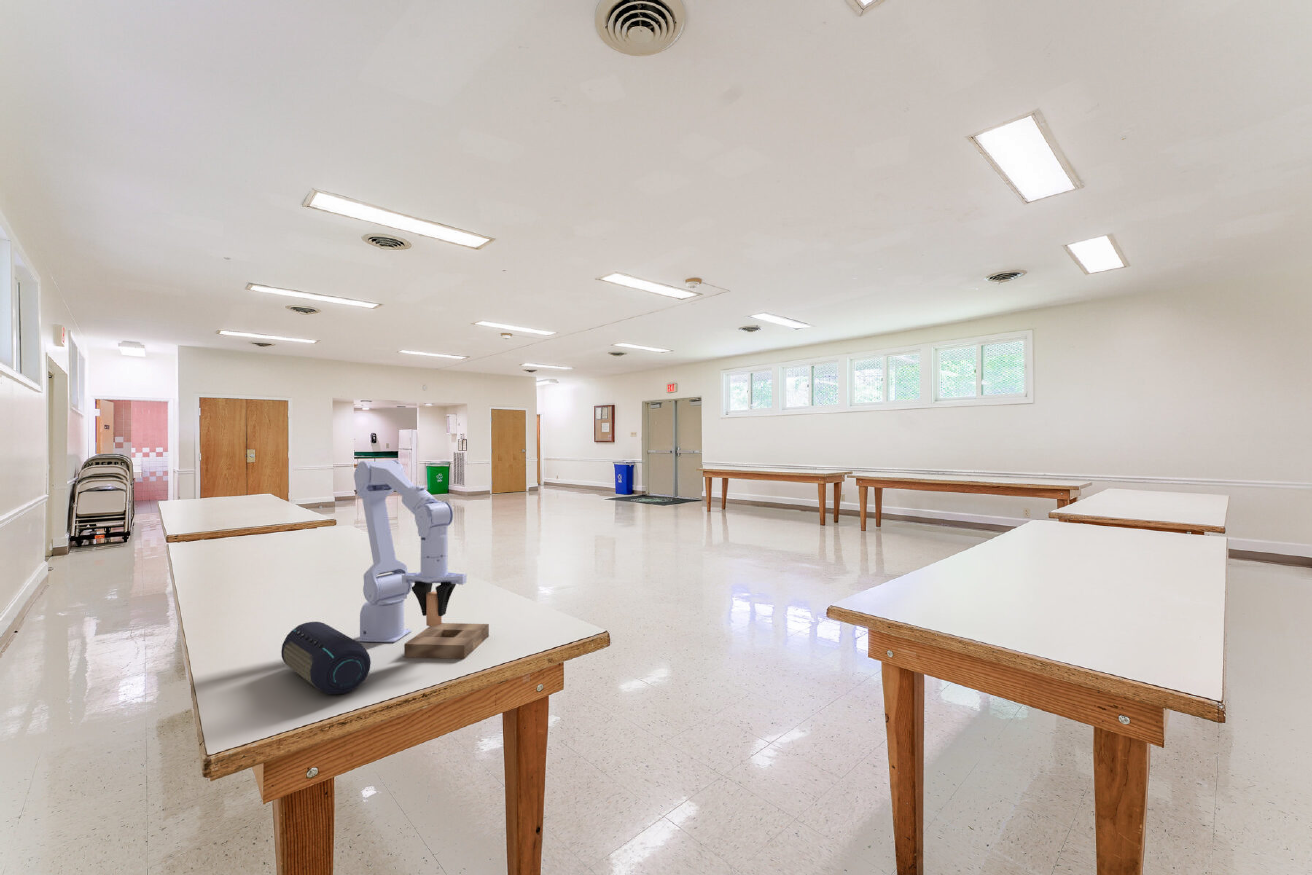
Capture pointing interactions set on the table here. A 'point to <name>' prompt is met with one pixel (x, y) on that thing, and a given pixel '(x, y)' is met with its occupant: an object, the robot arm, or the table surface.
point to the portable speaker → (326, 657)
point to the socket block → (447, 641)
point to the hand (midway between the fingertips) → (434, 614)
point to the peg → (432, 609)
